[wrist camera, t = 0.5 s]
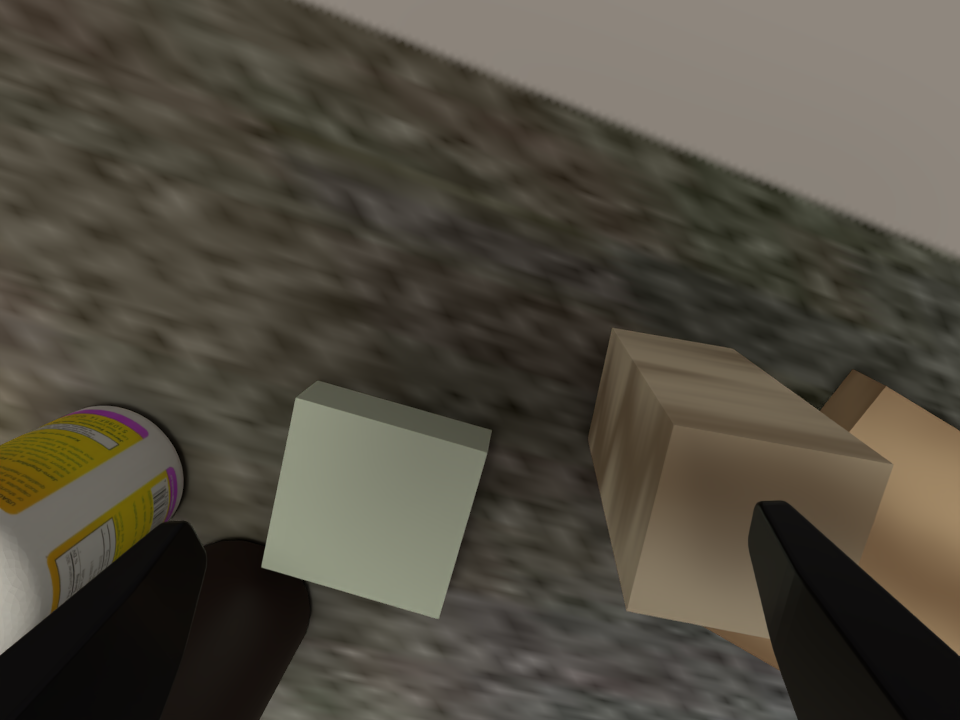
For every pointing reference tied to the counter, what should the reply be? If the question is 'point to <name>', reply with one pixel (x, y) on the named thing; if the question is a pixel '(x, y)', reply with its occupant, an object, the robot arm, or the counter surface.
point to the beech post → (714, 475)
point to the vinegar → (238, 637)
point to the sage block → (374, 497)
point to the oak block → (902, 507)
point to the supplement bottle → (77, 506)
